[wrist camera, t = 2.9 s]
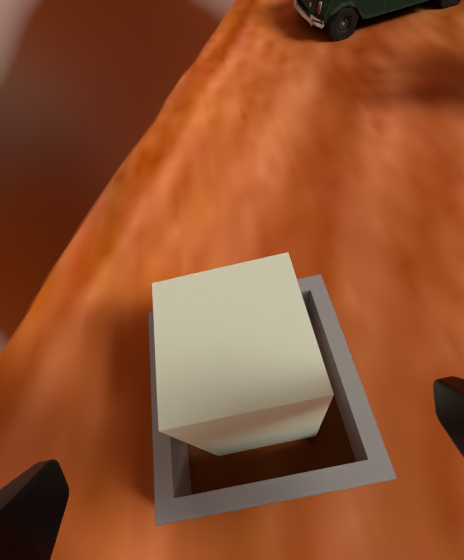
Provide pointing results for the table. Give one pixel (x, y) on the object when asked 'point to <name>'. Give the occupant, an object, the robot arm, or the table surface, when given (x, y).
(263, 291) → the sage block
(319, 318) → the holder
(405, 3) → the miniature car
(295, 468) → the table surface
